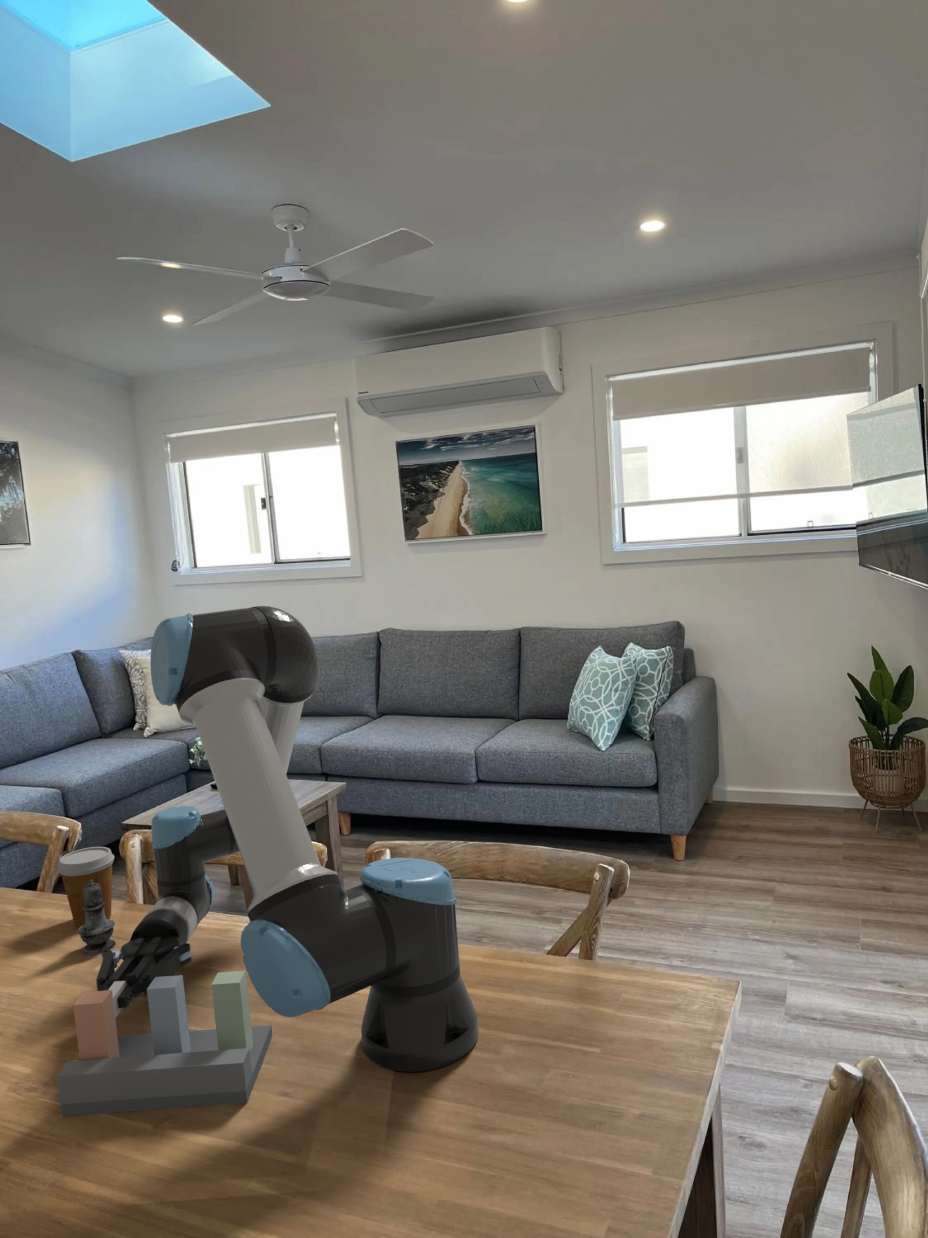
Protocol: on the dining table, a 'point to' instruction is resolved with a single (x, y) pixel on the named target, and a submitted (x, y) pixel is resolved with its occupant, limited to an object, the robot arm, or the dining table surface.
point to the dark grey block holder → (163, 1075)
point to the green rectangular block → (232, 1011)
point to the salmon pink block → (96, 1025)
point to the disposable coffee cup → (86, 878)
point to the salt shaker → (95, 922)
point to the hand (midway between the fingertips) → (101, 1018)
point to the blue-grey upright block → (168, 1015)
